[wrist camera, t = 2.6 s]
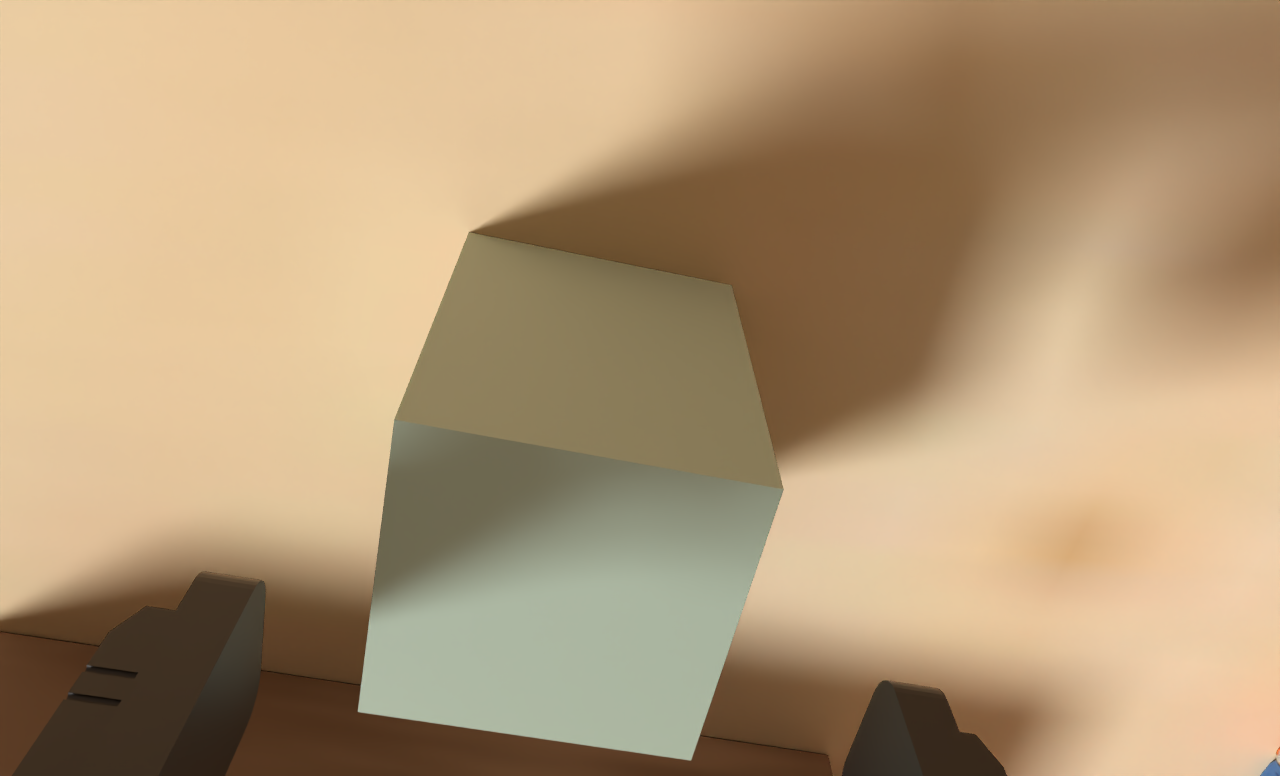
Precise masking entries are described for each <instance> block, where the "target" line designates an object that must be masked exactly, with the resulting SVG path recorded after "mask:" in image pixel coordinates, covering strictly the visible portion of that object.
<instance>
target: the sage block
mask: <svg viewBox="0 0 1280 776" xmlns="http://www.w3.org/2000/svg"><path fill="white" fill-rule="evenodd" d="M783 490H784V489H783V485H782V481H781V477H780V473H779V469H778V466H777V462H776V458H775V454H774V450H773V446H772V442H771V438H770V434H769V430H768V426H767V422H766V418H765V414H764V410H763V406H762V403H761V399H760V395H759V391H758V387H757V383H756V379H755V375H754V371H753V367H752V363H751V359H750V355H749V351H748V347H747V343H746V339H745V336H744V332H743V328H742V324H741V320H740V316H739V312H738V308H737V304H736V300H735V296H734V292H733V288H732V285H729V284H724V283H719V282H714V281H709V280H704V279H699V278H694V277H689V276H684V275H679V274H674V273H669V272H664V271H659V270H654V269H649V268H644V267H639V266H634V265H630V264H625V263H620V262H615V261H610V260H605V259H600V258H595V257H590V256H585V255H580V254H575V253H570V252H565V251H560V250H555V249H550V248H545V247H540V246H536V245H531V244H526V243H521V242H516V241H511V240H506V239H501V238H496V237H491V236H486V235H481V234H476V233H471V232H469V234H468V236H467V239H466V241H465V244H464V246H463V249H462V251H461V254H460V256H459V259H458V261H457V264H456V266H455V269H454V271H453V274H452V276H451V279H450V281H449V284H448V286H447V289H446V291H445V294H444V296H443V299H442V301H441V304H440V306H439V309H438V311H437V314H436V316H435V319H434V321H433V324H432V326H431V329H430V331H429V334H428V337H427V339H426V342H425V344H424V347H423V349H422V352H421V354H420V357H419V359H418V362H417V364H416V367H415V369H414V372H413V374H412V377H411V379H410V382H409V384H408V387H407V389H406V392H405V394H404V397H403V399H402V402H401V404H400V407H399V409H398V412H397V414H396V417H395V419H394V427H393V435H392V443H391V451H390V459H389V467H388V475H387V483H386V491H385V498H384V506H383V514H382V522H381V530H380V538H379V546H378V554H377V562H376V570H375V578H374V586H373V594H372V602H371V610H370V618H369V626H368V634H367V642H366V650H365V658H364V666H363V674H362V682H361V690H360V698H359V706H358V712H361V713H368V714H375V715H382V716H389V717H395V718H402V719H409V720H416V721H423V722H430V723H437V724H443V725H450V726H457V727H464V728H471V729H478V730H485V731H491V732H498V733H505V734H512V735H519V736H526V737H533V738H539V739H546V740H553V741H560V742H567V743H574V744H581V745H587V746H594V747H601V748H608V749H615V750H622V751H629V752H635V753H642V754H649V755H656V756H663V757H670V758H677V759H683V760H690V761H691V759H692V756H693V753H694V751H695V748H696V745H697V742H698V739H699V736H700V733H701V730H702V727H703V724H704V721H705V718H706V715H707V712H708V710H709V707H710V704H711V701H712V698H713V695H714V692H715V689H716V686H717V683H718V680H719V677H720V674H721V671H722V668H723V666H724V663H725V660H726V657H727V654H728V651H729V648H730V645H731V642H732V639H733V636H734V633H735V630H736V627H737V624H738V622H739V619H740V616H741V613H742V610H743V607H744V604H745V601H746V598H747V595H748V592H749V589H750V586H751V583H752V580H753V578H754V575H755V572H756V569H757V566H758V563H759V560H760V557H761V554H762V551H763V548H764V545H765V542H766V539H767V537H768V534H769V531H770V528H771V525H772V522H773V519H774V516H775V513H776V510H777V507H778V504H779V501H780V498H781V495H782V493H783Z"/></svg>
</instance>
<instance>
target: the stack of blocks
mask: <svg viewBox="0 0 1280 776" xmlns="http://www.w3.org/2000/svg"><path fill="white" fill-rule="evenodd" d="M1260 776H1280V748H1279V749H1278V750H1277V752H1276V760H1274V761H1273V762H1271V763H1270V764H1269V765H1268V766H1267V768H1266V769H1265V770H1264V771H1263V773H1262V774H1261V775H1260Z"/></svg>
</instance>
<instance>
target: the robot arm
mask: <svg viewBox="0 0 1280 776" xmlns="http://www.w3.org/2000/svg"><path fill="white" fill-rule="evenodd" d="M265 592H266V591H265V583H264V581H262V580H255V579H249V578H243V577H236V576H230V575H224V574H217V573H211V572H201V573H200V574H199V575H198V576H197V577H196V578H195V580H194V582H193V583H192V585H191V586H190V588H189V590H188V591H187V593H186V595H185V596H184V598H183V600H182V601H181V603H180V605H179V606H178V608H177V610H176V611H175V610H169V609H162V608H156V607H149V606H146V607H144V608H143V609H141V610H140V611H138V612H137V613H136V614H134V615H133V616H131V617H130V618H128V619H127V620H126V621H124V622H123V623H121V624H120V625H118V626H117V627H116V628H114V629H113V630H111V631H110V632H109V633H108V634H107V636H106V637H105V639H104V640H103V642H102V643H101V645H100V646H99V648H98V649H97V651H96V652H95V654H94V655H93V656H92V658H91V659H90V661H89V662H88V664H87V667H86V670H85V672H82V673H81V674H80V676H79V677H78V679H77V680H76V682H75V683H74V684H73V686H72V687H71V689H70V690H69V692H68V696H67V699H66V700H65V699H63V701H62V702H61V704H60V705H59V707H58V708H57V710H56V711H55V713H54V714H53V715H52V717H51V718H50V720H49V721H48V723H47V724H46V726H45V727H44V729H43V730H42V732H41V733H40V735H39V736H38V738H37V739H36V741H35V742H34V743H33V745H32V746H31V748H30V749H29V751H28V752H27V754H26V755H25V757H24V758H23V760H22V761H21V763H20V764H19V766H18V767H17V769H16V770H15V772H14V773H13V774H12V776H225V775H226V772H227V770H228V768H229V766H230V763H231V761H232V759H233V757H234V754H235V752H236V750H237V748H238V745H239V743H240V741H241V738H242V736H243V734H244V732H245V729H246V727H247V725H248V722H249V720H250V717H251V714H252V711H253V707H254V704H255V700H256V696H257V692H258V687H259V681H260V674H261V659H262V643H263V627H264V610H265ZM842 776H1007V774H1006V772H1005V770H1004V767H1003V766H1002V765H1001V764H1000V763H999V762H998V760H997V759H996V758H995V757H994V756H993V754H992V753H991V752H990V751H989V750H988V749H987V747H986V746H985V745H984V744H983V743H982V741H981V740H980V739H979V738H978V737H977V736H976V735H975V734H969V733H962V732H959V729H958V727H957V724H956V722H955V719H954V717H953V714H952V711H951V709H950V706H949V704H948V701H947V699H946V697H945V695H944V693H943V692H942V691H941V690H940V689H937V688H931V687H925V686H919V685H912V684H906V683H900V682H893V681H887V680H885V681H882V682H881V683H880V684H879V685H878V686H877V688H876V689H875V692H874V694H873V696H872V699H871V701H870V703H869V706H868V708H867V711H866V713H865V715H864V718H863V720H862V723H861V725H860V727H859V730H858V732H857V735H856V737H855V739H854V742H853V744H852V747H851V749H850V751H849V754H848V756H847V759H846V762H845V765H844V768H843V773H842Z"/></svg>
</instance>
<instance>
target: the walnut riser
mask: <svg viewBox="0 0 1280 776" xmlns="http://www.w3.org/2000/svg"><path fill="white" fill-rule="evenodd" d="M98 648H99V647H98V646H91V645H84V644H78V643H71V642H64V641H58V640H51V639H44V638H37V637H31V636H24V635H17V634H11V633H4V632H0V776H12V774H13V773H14V772H15V770H16V769H17V767H18V766H19V764H20V763H21V761H22V760H23V758H24V757H25V755H26V754H27V752H28V751H29V749H30V748H31V746H32V745H33V743H34V742H35V741H36V739H37V738H38V736H39V735H40V733H41V732H42V730H43V729H44V727H45V726H46V724H47V723H48V721H49V720H50V718H51V717H52V715H53V714H54V713H55V711H56V710H57V708H58V707H59V705H60V704H61V702H62V701H63V699H65V700H66V699H67V696H68V692H69V690H70V689H71V687H72V686H73V684H74V683H75V682H76V680H77V679H78V677H79V676H80V674H81V673H82V672H85V670H86V667H87V664H88V662H89V661H90V659H91V658H92V656H93V655H94V654H95V652H96V651H97V649H98ZM360 690H361V686H360V685H353V684H346V683H340V682H333V681H326V680H320V679H313V678H306V677H299V676H293V675H286V674H279V673H273V672H266V671H261V674H260V681H259V687H258V692H257V696H256V700H255V704H254V707H253V711H252V714H251V717H250V720H249V722H248V725H247V727H246V729H245V732H244V734H243V736H242V738H241V741H240V743H239V745H238V748H237V750H236V752H235V754H234V757H233V759H232V761H231V763H230V766H229V768H228V770H227V772H226V775H225V776H833V775H832V771H831V767H830V762H829V758H828V755H823V754H816V753H810V752H803V751H796V750H790V749H783V748H776V747H769V746H763V745H756V744H749V743H743V742H736V741H729V740H722V739H716V738H709V737H702V736H699V739H698V742H697V745H696V748H695V751H694V753H693V756H692V759H691V761H690V760H683V759H677V758H670V757H663V756H656V755H649V754H642V753H635V752H629V751H622V750H615V749H608V748H601V747H594V746H587V745H581V744H574V743H567V742H560V741H553V740H546V739H539V738H533V737H526V736H519V735H512V734H505V733H498V732H491V731H485V730H478V729H471V728H464V727H457V726H450V725H443V724H437V723H430V722H423V721H416V720H409V719H402V718H395V717H389V716H382V715H375V714H368V713H361V712H358V706H359V698H360Z"/></svg>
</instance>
